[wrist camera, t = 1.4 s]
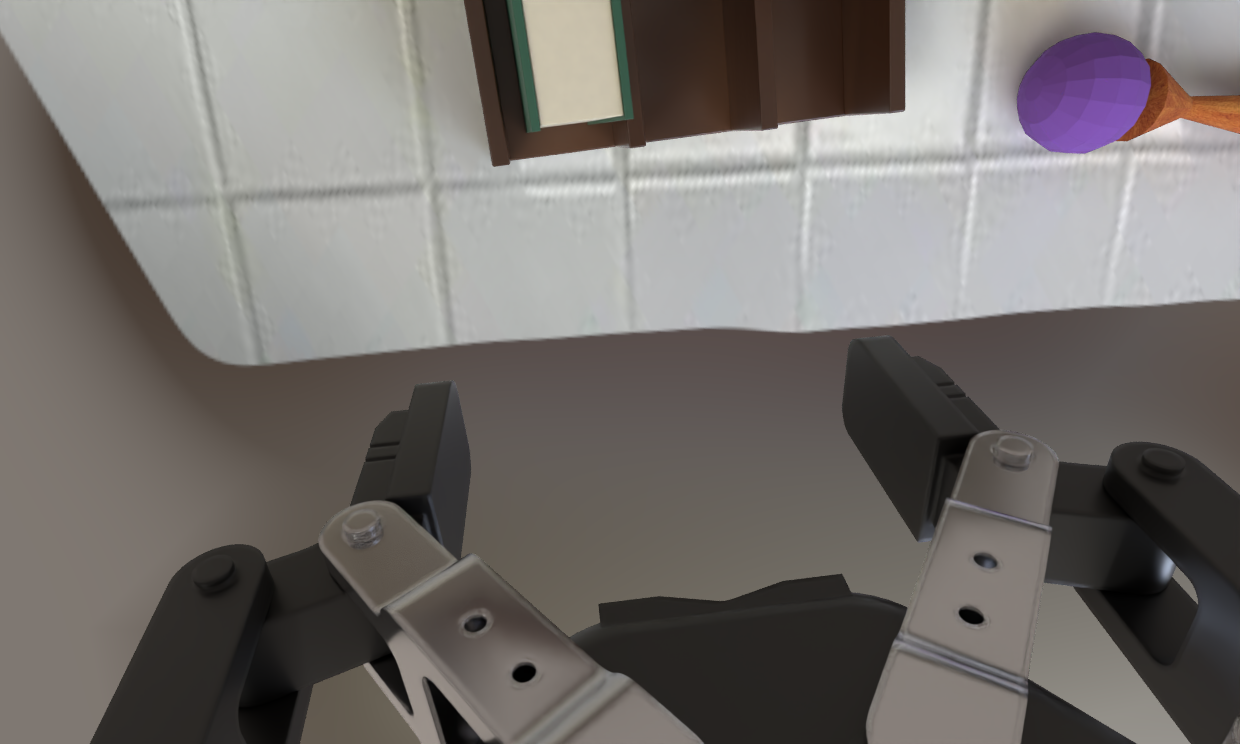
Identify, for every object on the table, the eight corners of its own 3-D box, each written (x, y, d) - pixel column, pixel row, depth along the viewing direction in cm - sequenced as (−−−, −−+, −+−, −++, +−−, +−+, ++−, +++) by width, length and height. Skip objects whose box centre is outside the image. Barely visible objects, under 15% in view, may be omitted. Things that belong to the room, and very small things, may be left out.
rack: (846, -138, 37) (906, -187, 31) (851, 114, 41) (905, 111, 35) (451, -98, 35) (439, -142, 30) (495, 162, 39) (492, 167, 33)
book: (566, -84, 35) (596, -215, 22) (593, 124, 38) (633, 118, 25) (493, -77, 35) (480, -204, 22) (526, 133, 38) (531, 132, 25)
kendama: (1347, 187, 42) (1050, 160, 37) (1250, 162, 47) (979, 136, 42) (1413, 75, 39) (1100, 31, 34) (1302, 62, 44) (1017, 22, 40)
